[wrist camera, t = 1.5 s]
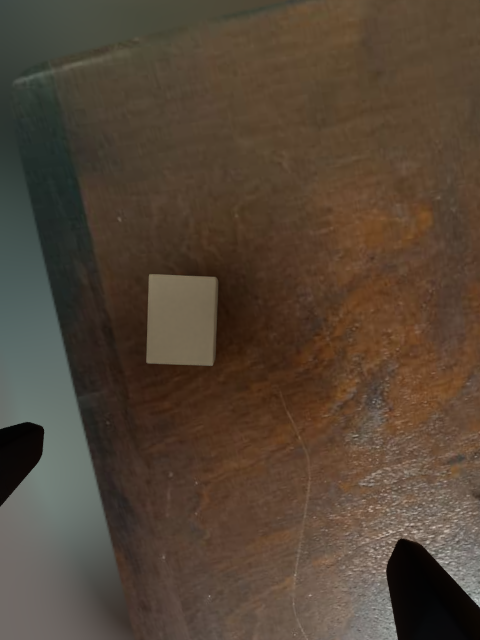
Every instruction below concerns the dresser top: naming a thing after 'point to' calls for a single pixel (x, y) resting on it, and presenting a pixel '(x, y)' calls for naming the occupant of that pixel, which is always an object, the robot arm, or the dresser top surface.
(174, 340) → the beige pad
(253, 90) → the dresser top surface
